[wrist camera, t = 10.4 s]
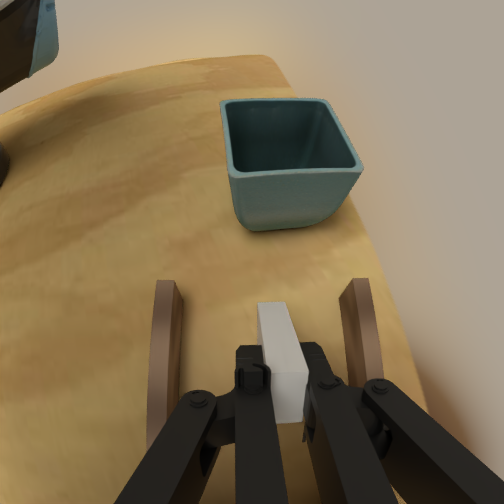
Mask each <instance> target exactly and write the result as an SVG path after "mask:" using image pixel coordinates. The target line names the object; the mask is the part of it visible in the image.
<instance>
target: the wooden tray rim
mask: <svg viewBox="0 0 504 504" xmlns="http://www.w3.org/2000/svg"><path fill="white" fill-rule="evenodd" d="M339 303H340V310H341V317H342V325H343V333H344V341H345V350H346V359H347V369H348V380H349V386H351V387H362V388H364V385H365V383H366V382H367V381H369V380H371V379H375V378H382V379H384V373H383V365H382V357H381V349H380V342H379V336H378V329H377V323H376V317H375V311H374V305H373V300H372V294H371V289H370V284H369V279H368V278H353V279H352V280H351V282H350V283H349V284H348V286H347V287H346V289H345V290H344V292H343V293H342V294H341V296H340V297H339ZM182 308H183V299H182V297H181V295H180V292H179V290H178V288H177V285H176V283H175V281H174V280H157V284H156V292H155V301H154V311H153V321H152V332H151V344H150V358H149V375H148V396H147V451H148V450H149V448H150V447H151V445H152V443H153V442H154V440H155V439H156V437H157V435H158V434H159V432H160V431H161V429H162V428H163V426H164V424H165V423H166V421H167V420H168V418H169V416H170V415H171V413H172V412H173V410H174V408H175V407H176V405H177V404H178V399H179V364H180V342H181V323H182ZM386 427H387V426H386Z"/></svg>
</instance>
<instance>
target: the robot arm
mask: <svg viewBox="0 0 504 504" xmlns="http://www.w3.org/2000/svg"><path fill="white" fill-rule="evenodd" d="M58 50H59V43H58V30H57V19H56V10H55V1H54V0H0V93H1V92H3V91H4V90H6V89H8V88H9V87H11V86H13V85H14V84H16V83H18V82H20V81H21V80H23V79H25V78H30V77H31V76H32V75H33V74H34V73H35V72H37V71H39V70H41V69H42V68H44V67H46V66H48V65H49V64H51V63H52V62H53V61H54V60H55V58H56V57H57V54H58ZM8 166H9V156H8V154H7V152H6V150H5V148H4V147H3V145H2V144H1V143H0V185H1V183H2V181H3V179H4V177H5V175H6V173H7V170H8ZM303 414H304V417H305V427H304V433H303V441H302V442H305V440H307V444H308V448H309V452H310V456H311V460H312V465H313V469H314V473H315V477H316V481H317V485H318V490H319V494H320V498H321V502H322V504H399V503H398V501H397V499H396V496H395V494H394V492H393V490H392V487H391V485H392V486H393V488H394V489H395V490H396V491H397V492H398V494H399V495H400V496H401V497H402V498H403V500H404V501H405V502H406V503H407V504H504V481H503V480H501V479H500V478H499V477H498V476H497V475H496V474H495V473H493V471H491V470H490V469H489V468H488V467H487V466H486V465H485V464H483V463H482V462H481V461H480V460H479V459H478V458H477V457H475V456H474V455H473V454H472V453H471V452H470V451H469V450H468V449H466V448H465V447H464V446H463V445H462V444H461V443H460V442H458V441H457V440H456V439H455V438H454V437H453V436H452V435H451V434H449V433H448V432H447V431H446V430H445V429H444V428H443V427H442V426H441V425H439V424H438V423H437V422H436V421H435V420H434V419H433V418H432V417H430V416H429V415H428V414H427V413H426V412H425V411H424V410H423V409H421V408H420V407H419V406H418V405H417V404H416V403H415V402H414V401H412V400H411V399H410V398H409V397H408V396H407V395H406V394H405V393H404V392H402V391H401V390H400V389H399V388H398V387H397V386H396V385H395V384H393V383H392V382H390V381H389V380H386V379H382V378H375V379H371V380H369V381H367V382H366V383H365V385H364V388H362V387H351V386H347V385H345V384H344V382H343V381H342V379H341V378H339V377H337V376H335V375H334V374H333V372H332V370H331V367H330V365H329V363H328V361H327V359H326V356H325V354H324V352H323V350H322V348H321V346H319V345H318V344H317V343H315V342H303V343H299V341H298V338H297V335H296V332H295V330H294V327H293V324H292V321H291V318H290V315H289V312H288V310H287V307H286V304H285V302H258V305H257V345H240V347H239V348H238V349H237V350H236V369H235V387H234V389H233V390H232V391H231V392H229V393H227V394H225V395H222V396H217V397H215V395H213V394H212V393H211V392H208V391H205V390H194V391H190V392H188V393H186V394H184V395H183V396H182V397H181V399H180V400H179V402H178V404H177V405H176V407H175V408H174V410H173V412H172V413H171V415H170V416H169V418H168V420H167V421H166V423H165V424H164V426H163V428H162V429H161V431H160V432H159V434H158V435H157V437H156V439H155V440H154V442H153V443H152V445H151V447H150V448H149V450H148V451H147V453H146V454H145V456H144V458H143V459H142V461H141V462H140V464H139V465H138V467H137V469H136V470H135V472H134V473H133V475H132V476H131V478H130V479H129V481H128V483H127V484H126V486H125V487H124V489H123V490H122V492H121V493H120V495H119V496H118V498H117V500H116V501H115V503H114V504H198V503H199V501H200V498H201V496H202V494H203V491H204V489H205V486H206V484H207V482H208V479H209V477H210V474H211V472H212V469H213V467H214V464H215V462H216V459H217V457H218V454H219V452H220V449H221V446H224V445H228V444H232V443H235V475H236V504H288V497H287V491H286V484H285V478H284V472H283V465H282V459H281V452H280V446H279V439H278V433H277V426H276V424H280V423H294V422H302V420H303ZM386 426H387V427H386ZM390 484H391V485H390Z"/></svg>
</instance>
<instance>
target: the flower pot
mask: <svg viewBox="0 0 504 504" xmlns="http://www.w3.org/2000/svg"><path fill="white" fill-rule="evenodd" d="M220 110H221V117H222V123H223V130H224V139H225V148H226V158H227V170H228V175H229V182H230V187H231V193H232V200H233V206H234V210H235V214H236V216H237V218H238V220H239V222H240V223H241V224H242V225H243V226H244V227H245V228H247V229H249V230H252V231H265V230H275V229H286V228H298V227H306V226H310V225H313V224H316V223H319V222H321V221H323V220H325V219H326V218H328V217H329V216H331V215H332V214H333V213H334V212H335V211H336V210H337V209H338V208H339V207H340V205H341V204H342V203H343V201H344V200H345V198H346V197H347V195H348V194H349V192H350V190H351V189H352V187H353V186H354V184H355V183H356V181H357V179H358V178H359V176H360V175H361V173H362V171H363V170H364V167H363V164H362V162H361V160H360V158H359V156H358V154H357V152H356V151H355V149H354V147H353V145H352V143H351V141H350V139H349V137H348V136H347V134H346V132H345V130H344V129H343V127H342V125H341V123H340V122H339V120H338V117H337V116H336V114H335V113H334V111H333V109H332V107H331V105H330V104H329V103H328V102H327V101H326V100H324V99H317V98H256V99H255V98H251V99H230V100H225V101H221V102H220Z"/></svg>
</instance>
